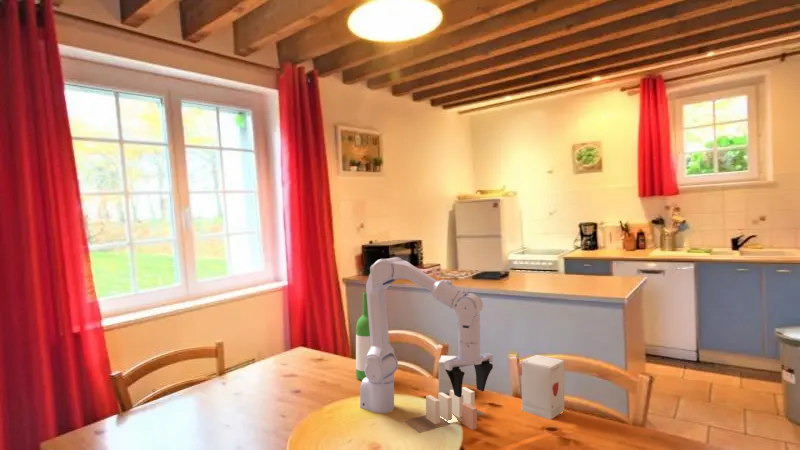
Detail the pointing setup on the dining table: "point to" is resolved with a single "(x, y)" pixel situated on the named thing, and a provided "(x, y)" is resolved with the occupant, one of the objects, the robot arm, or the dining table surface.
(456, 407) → the domino
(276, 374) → the dining table surface
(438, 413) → the domino
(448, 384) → the small box
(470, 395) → the domino
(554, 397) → the supplement box
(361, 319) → the wine bottle
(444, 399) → the domino
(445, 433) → the dining table surface
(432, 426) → the board
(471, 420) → the domino
